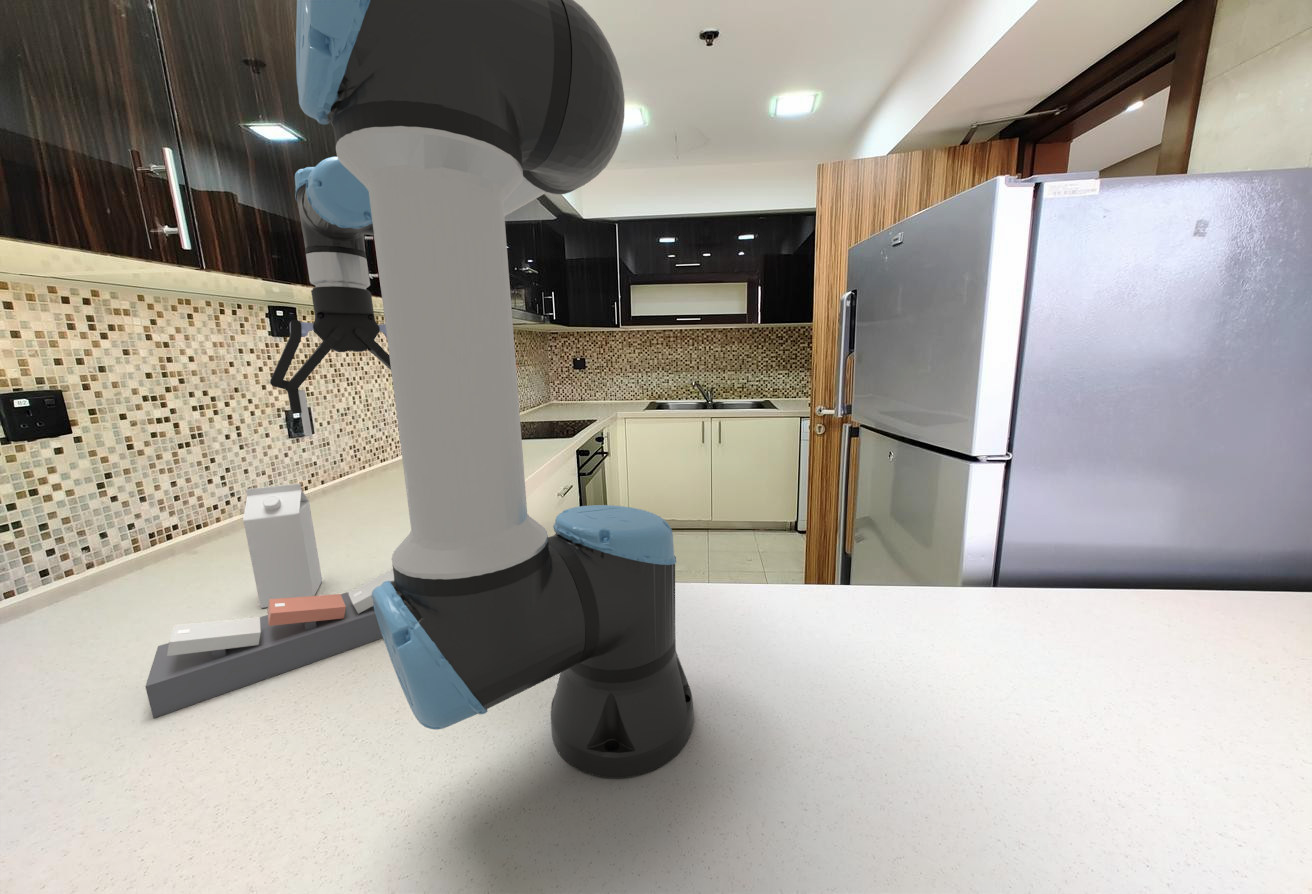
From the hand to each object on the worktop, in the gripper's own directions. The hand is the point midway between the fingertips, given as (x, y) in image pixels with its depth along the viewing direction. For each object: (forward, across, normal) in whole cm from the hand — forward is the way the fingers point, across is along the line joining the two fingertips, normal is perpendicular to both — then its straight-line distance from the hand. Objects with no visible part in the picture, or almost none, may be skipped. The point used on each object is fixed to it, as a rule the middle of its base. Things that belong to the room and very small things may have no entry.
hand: (361, 429), depth 74 cm
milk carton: (+28, +12, -11) cm, 32 cm away
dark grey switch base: (+28, +8, +9) cm, 30 cm away
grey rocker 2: (+22, +2, +11) cm, 25 cm away
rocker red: (+22, +11, +11) cm, 27 cm away
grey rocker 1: (+22, +20, +11) cm, 31 cm away
